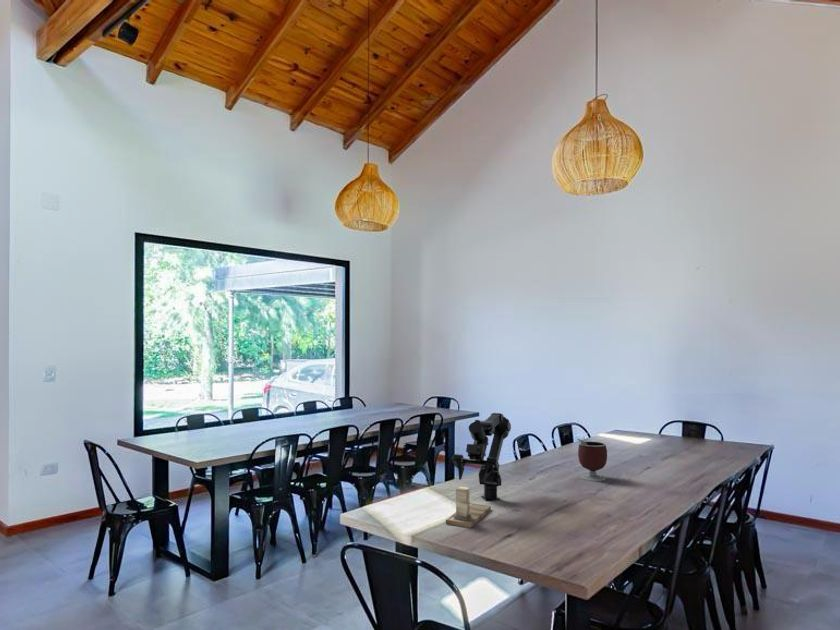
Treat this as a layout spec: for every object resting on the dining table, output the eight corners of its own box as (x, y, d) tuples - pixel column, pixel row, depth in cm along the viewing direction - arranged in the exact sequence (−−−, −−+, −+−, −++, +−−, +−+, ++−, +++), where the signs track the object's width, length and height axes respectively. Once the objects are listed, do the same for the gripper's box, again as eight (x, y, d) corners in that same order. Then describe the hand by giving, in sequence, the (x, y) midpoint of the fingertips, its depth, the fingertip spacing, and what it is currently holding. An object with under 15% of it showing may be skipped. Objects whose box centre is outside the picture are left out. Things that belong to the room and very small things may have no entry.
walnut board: (467, 506, 235) (467, 502, 235) (490, 509, 231) (490, 505, 231) (445, 523, 213) (445, 519, 213) (470, 527, 209) (470, 523, 209)
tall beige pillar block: (459, 514, 219) (459, 486, 220) (471, 516, 217) (471, 487, 217) (454, 518, 215) (454, 489, 215) (466, 520, 213) (466, 490, 213)
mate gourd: (596, 473, 291) (595, 434, 292) (613, 480, 278) (612, 439, 278) (570, 476, 286) (569, 436, 287) (586, 482, 273) (585, 441, 274)
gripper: (453, 434, 233) (443, 466, 223) (497, 437, 225) (488, 471, 215) (460, 450, 240) (450, 482, 229) (502, 454, 232) (494, 487, 222)
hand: (470, 480), depth 224 cm, fingers open, 9 cm apart
